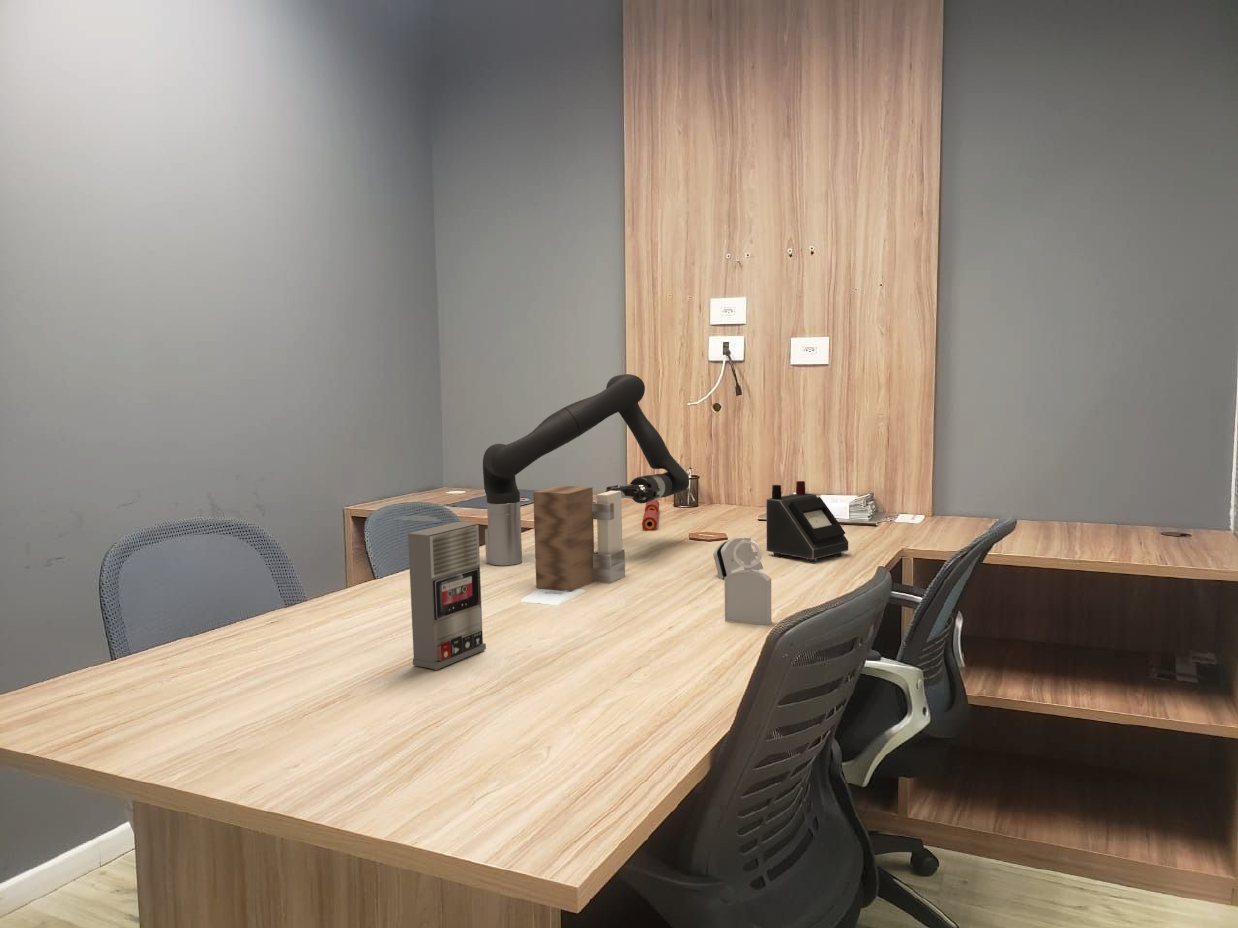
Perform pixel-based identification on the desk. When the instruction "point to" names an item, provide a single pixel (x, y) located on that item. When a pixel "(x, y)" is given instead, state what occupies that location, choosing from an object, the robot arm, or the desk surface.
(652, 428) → the robot arm
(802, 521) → the voltmeter
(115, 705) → the desk surface
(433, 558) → the cassette tape recorder
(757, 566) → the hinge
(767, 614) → the gravestone
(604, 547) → the beige rectangular block
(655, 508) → the blood vessel
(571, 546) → the cabinet
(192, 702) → the desk surface
